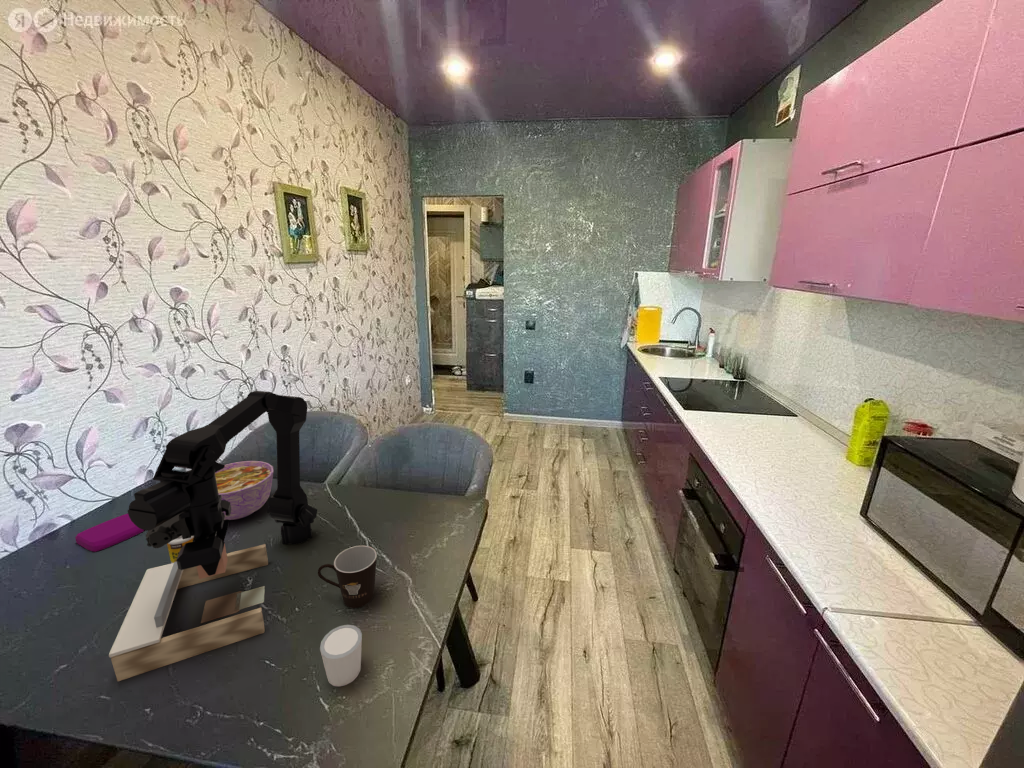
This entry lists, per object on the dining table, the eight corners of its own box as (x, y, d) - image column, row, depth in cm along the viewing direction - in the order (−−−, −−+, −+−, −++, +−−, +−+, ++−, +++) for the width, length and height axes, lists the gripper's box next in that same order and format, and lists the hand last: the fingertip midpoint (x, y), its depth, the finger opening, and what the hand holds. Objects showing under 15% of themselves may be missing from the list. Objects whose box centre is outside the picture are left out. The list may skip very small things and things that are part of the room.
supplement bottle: (171, 575, 94) (162, 537, 91) (173, 561, 98) (165, 524, 96) (200, 566, 97) (193, 529, 94) (202, 553, 101) (195, 517, 99)
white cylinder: (331, 654, 76) (327, 624, 74) (368, 652, 76) (366, 623, 75) (317, 691, 69) (313, 659, 67) (358, 688, 70) (355, 657, 68)
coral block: (227, 559, 85) (224, 542, 84) (225, 572, 81) (221, 554, 80) (202, 565, 83) (199, 548, 82) (199, 579, 79) (195, 561, 78)
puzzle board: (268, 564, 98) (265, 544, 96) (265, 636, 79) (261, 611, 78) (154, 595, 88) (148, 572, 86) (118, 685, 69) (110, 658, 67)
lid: (185, 562, 89) (183, 551, 89) (159, 642, 70) (156, 629, 70) (147, 571, 86) (144, 560, 85) (109, 657, 67) (105, 644, 67)
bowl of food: (178, 526, 111) (169, 488, 108) (239, 489, 130) (234, 457, 127) (238, 538, 107) (232, 499, 104) (293, 499, 126) (289, 465, 123)
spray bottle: (73, 543, 104) (181, 498, 126) (96, 556, 100) (203, 507, 122) (70, 533, 103) (179, 490, 125) (93, 545, 99) (201, 498, 121)
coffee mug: (387, 588, 92) (384, 550, 89) (362, 617, 84) (358, 577, 81) (345, 575, 96) (342, 538, 93) (317, 601, 88) (313, 562, 85)
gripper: (159, 485, 82) (174, 551, 86) (129, 538, 66) (149, 615, 70) (225, 474, 87) (236, 537, 91) (213, 520, 71) (226, 593, 75)
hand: (213, 567), depth 82 cm, fingers closed on coral block, 4 cm apart
